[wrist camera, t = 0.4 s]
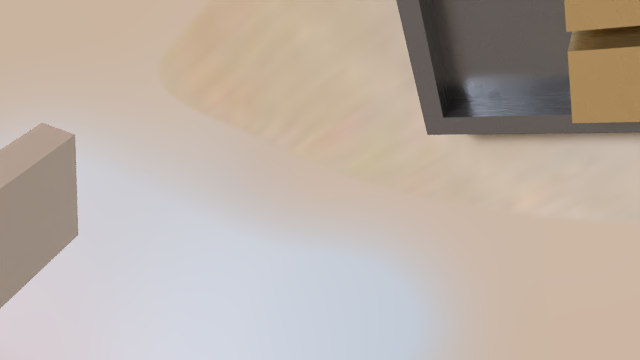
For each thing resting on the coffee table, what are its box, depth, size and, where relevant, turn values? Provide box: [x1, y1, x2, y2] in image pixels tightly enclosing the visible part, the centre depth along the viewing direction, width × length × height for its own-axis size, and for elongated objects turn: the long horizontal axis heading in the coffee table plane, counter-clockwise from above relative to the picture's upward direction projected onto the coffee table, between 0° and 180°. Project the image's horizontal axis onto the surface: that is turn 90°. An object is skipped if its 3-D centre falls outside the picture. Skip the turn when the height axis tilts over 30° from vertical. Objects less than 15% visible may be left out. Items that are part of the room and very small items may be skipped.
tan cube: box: [568, 26, 640, 123], centre depth 29 cm, size 4×4×4 cm
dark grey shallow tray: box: [397, 0, 640, 135], centre depth 30 cm, size 16×13×3 cm
